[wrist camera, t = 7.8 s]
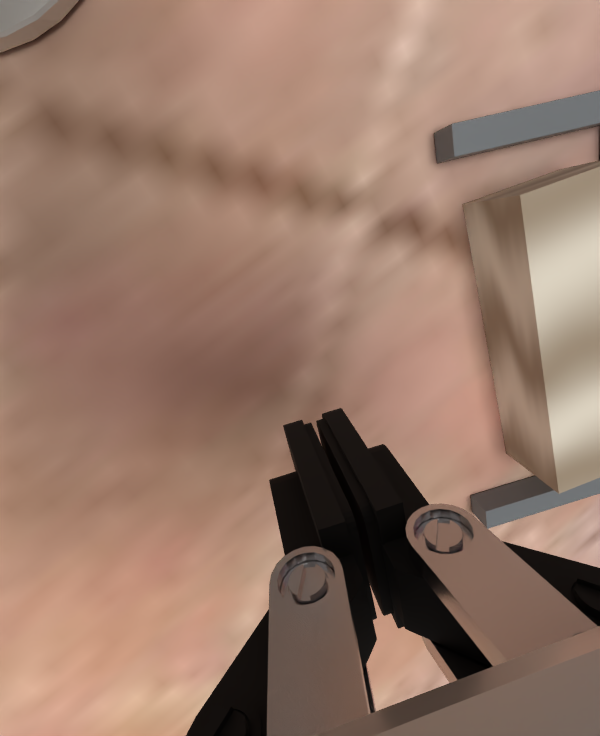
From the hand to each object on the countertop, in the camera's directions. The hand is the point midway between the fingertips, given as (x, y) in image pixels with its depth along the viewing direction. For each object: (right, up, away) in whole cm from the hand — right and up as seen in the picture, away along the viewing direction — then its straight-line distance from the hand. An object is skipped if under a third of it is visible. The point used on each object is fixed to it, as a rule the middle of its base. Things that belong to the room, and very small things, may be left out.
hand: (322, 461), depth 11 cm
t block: (+16, +6, +10) cm, 20 cm away
